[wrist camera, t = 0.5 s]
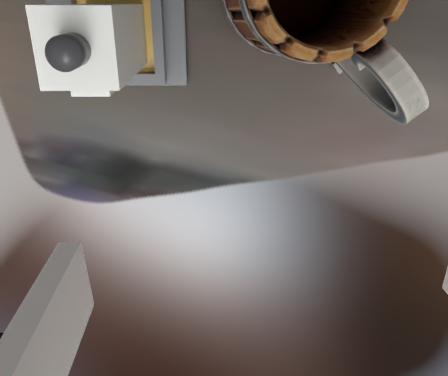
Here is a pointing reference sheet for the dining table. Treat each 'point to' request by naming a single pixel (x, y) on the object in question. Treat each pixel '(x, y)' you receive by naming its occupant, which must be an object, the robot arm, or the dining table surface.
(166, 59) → the panel
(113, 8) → the plug
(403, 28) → the dining table surface
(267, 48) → the mug
